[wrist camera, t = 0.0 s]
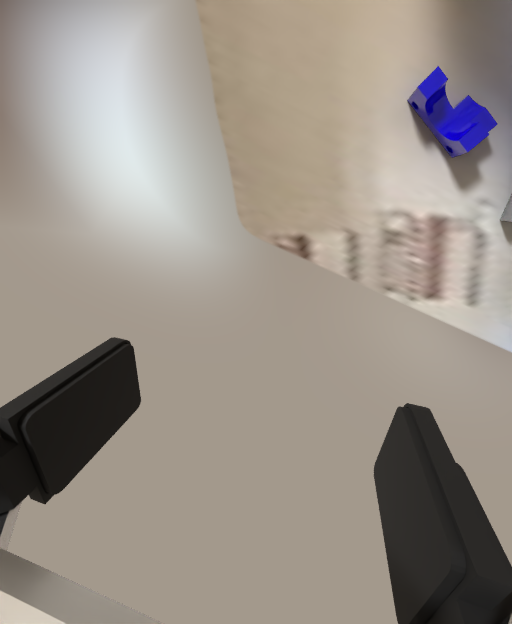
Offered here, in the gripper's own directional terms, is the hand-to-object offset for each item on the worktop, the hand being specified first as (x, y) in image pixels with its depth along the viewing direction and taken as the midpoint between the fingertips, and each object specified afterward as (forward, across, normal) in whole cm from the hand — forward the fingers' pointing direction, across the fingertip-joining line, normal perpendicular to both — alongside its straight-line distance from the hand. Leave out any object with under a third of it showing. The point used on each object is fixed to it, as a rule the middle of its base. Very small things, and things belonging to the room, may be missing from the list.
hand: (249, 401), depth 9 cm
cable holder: (+32, -12, -16) cm, 37 cm away
